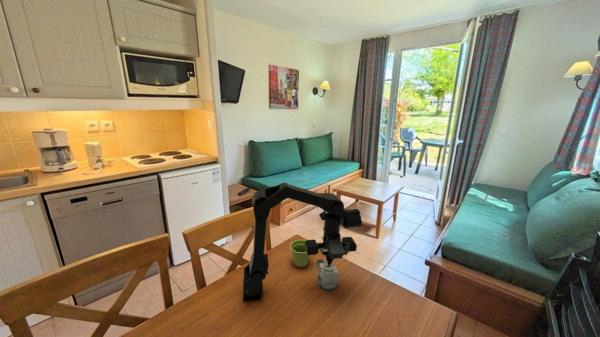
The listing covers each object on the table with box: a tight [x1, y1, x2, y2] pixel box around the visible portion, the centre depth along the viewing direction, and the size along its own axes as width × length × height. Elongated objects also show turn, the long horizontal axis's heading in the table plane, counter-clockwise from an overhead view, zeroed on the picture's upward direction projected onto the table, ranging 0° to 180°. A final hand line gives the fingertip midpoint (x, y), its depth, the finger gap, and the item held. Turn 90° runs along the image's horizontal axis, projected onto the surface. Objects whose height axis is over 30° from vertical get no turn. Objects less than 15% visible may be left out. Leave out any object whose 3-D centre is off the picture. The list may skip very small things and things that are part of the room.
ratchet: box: [316, 258, 339, 293], centre depth 97 cm, size 16×8×5 cm, turn 10°
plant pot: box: [289, 239, 310, 268], centre depth 103 cm, size 9×9×9 cm
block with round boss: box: [318, 260, 339, 286], centre depth 92 cm, size 6×6×7 cm
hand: (328, 264), depth 91 cm, fingers closed, pressing on block with round boss
